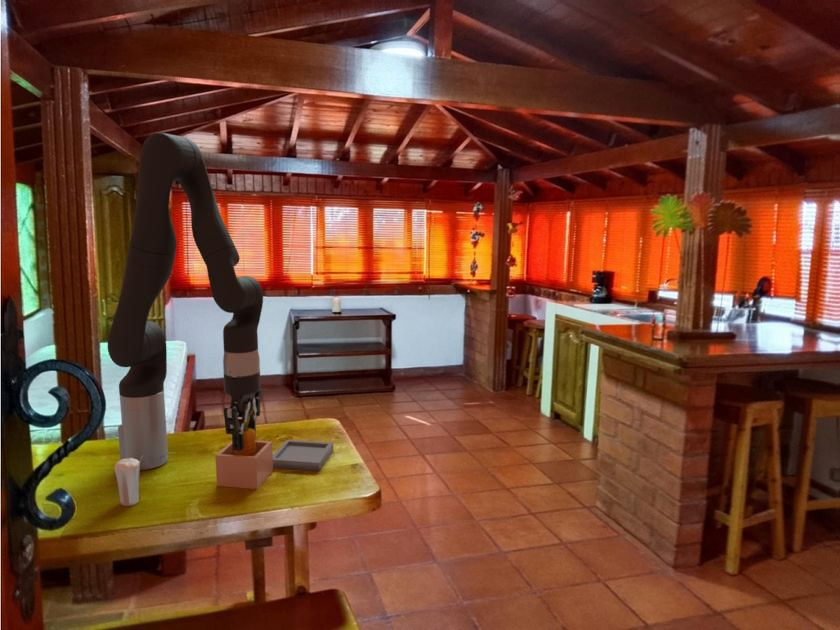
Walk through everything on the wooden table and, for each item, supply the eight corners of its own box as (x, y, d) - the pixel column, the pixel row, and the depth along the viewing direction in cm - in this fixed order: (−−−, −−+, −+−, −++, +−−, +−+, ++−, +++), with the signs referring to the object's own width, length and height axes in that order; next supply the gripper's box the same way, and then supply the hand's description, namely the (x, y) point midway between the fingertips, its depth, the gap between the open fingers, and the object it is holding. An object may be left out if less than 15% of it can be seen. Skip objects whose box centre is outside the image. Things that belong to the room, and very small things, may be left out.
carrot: (250, 484, 127) (248, 418, 124) (229, 481, 128) (227, 416, 125) (261, 474, 132) (259, 410, 129) (241, 472, 133) (238, 408, 130)
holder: (216, 485, 126) (215, 455, 125) (235, 467, 135) (234, 439, 134) (257, 489, 125) (256, 458, 124) (273, 470, 134) (272, 441, 133)
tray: (268, 467, 135) (268, 459, 135) (286, 447, 147) (286, 439, 147) (319, 471, 134) (319, 462, 134) (333, 450, 146) (333, 442, 145)
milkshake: (141, 507, 116) (138, 460, 115) (113, 508, 116) (109, 460, 114) (150, 496, 121) (146, 451, 119) (123, 497, 120) (119, 451, 119)
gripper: (239, 360, 133) (242, 430, 136) (209, 378, 119) (213, 456, 122) (271, 362, 132) (273, 433, 135) (244, 380, 118) (247, 458, 121)
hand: (244, 443), depth 128 cm, fingers open, 6 cm apart
